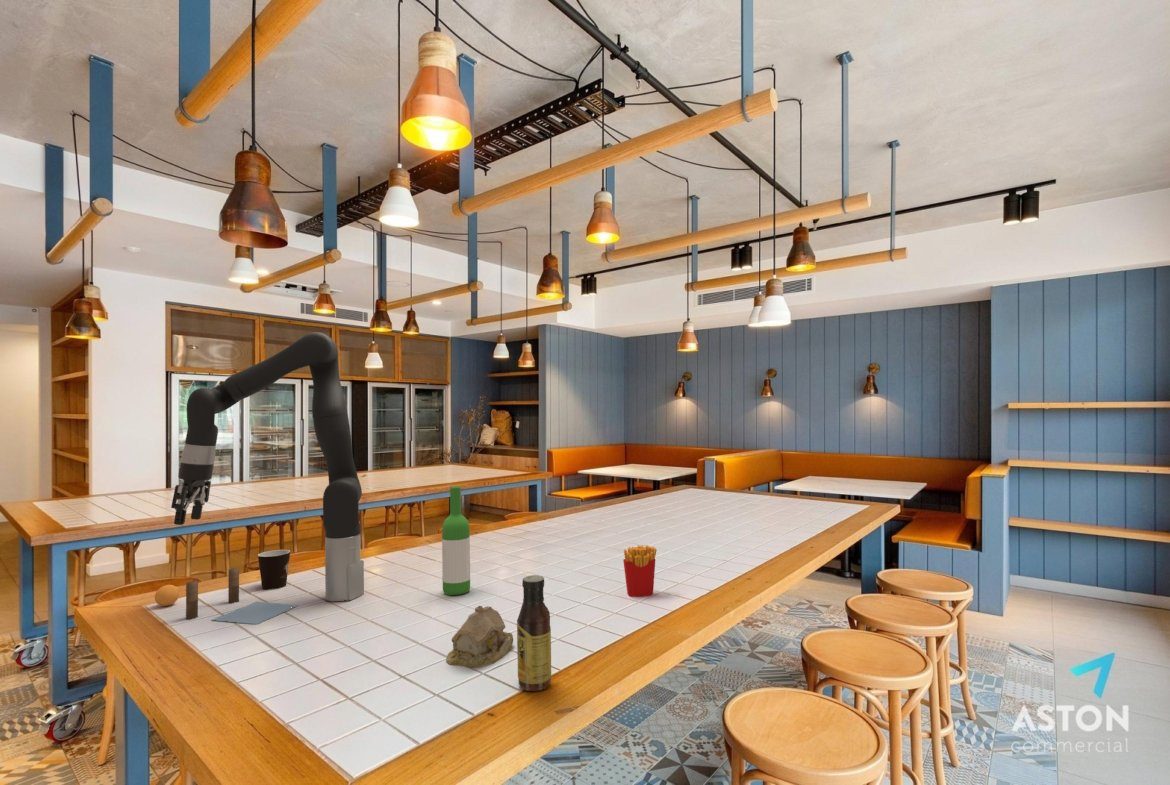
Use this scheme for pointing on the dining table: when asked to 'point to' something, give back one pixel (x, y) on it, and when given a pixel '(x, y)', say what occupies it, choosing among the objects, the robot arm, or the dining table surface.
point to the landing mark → (255, 613)
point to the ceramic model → (480, 639)
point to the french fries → (639, 570)
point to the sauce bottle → (534, 637)
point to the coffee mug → (274, 568)
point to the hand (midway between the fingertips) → (187, 521)
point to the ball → (167, 595)
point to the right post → (233, 585)
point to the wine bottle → (455, 548)
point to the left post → (191, 599)
